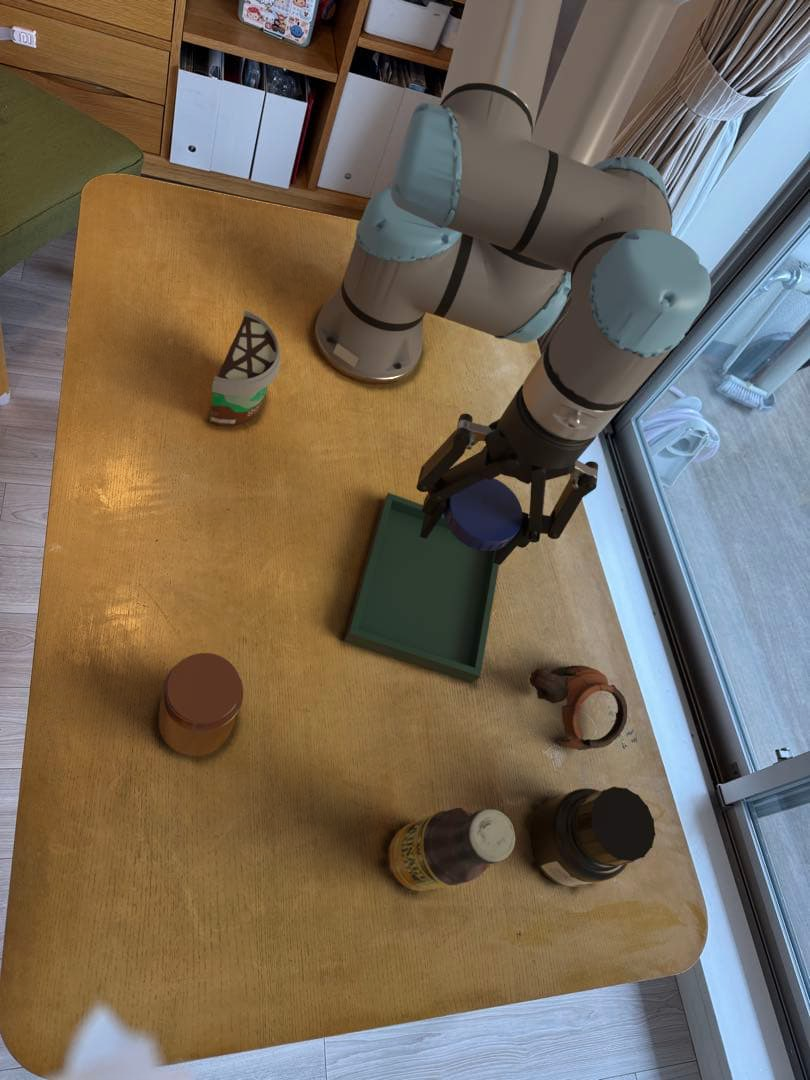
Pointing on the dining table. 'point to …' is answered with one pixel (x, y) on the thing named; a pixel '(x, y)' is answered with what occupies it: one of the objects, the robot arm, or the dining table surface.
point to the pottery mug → (578, 701)
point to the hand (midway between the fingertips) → (462, 540)
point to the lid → (484, 515)
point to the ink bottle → (590, 835)
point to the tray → (423, 594)
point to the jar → (199, 704)
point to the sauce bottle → (449, 848)
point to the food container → (245, 373)
